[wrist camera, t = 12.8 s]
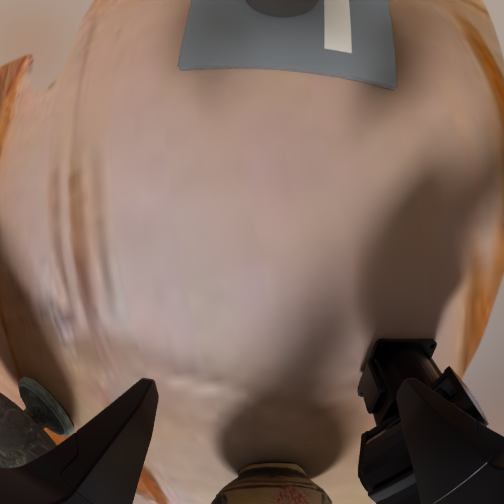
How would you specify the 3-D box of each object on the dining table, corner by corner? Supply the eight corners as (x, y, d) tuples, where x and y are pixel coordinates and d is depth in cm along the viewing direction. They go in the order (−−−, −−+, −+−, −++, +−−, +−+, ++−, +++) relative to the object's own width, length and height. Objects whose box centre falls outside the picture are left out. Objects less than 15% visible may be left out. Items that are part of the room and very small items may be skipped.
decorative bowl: (-17, 326, 29) (-80, 378, 10) (66, 363, 26) (-19, 464, 7) (36, 422, 36) (-3, 474, 17) (124, 464, 34) (89, 540, 15)
